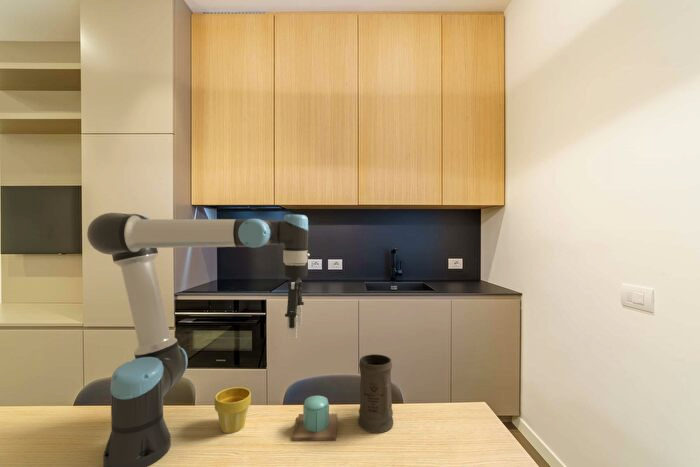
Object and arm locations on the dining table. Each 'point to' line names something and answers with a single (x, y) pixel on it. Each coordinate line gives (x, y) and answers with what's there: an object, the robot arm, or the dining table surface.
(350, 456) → the dining table surface
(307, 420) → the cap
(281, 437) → the dining table surface
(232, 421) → the plant pot
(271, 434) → the dining table surface
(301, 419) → the post block
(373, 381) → the beer stein
